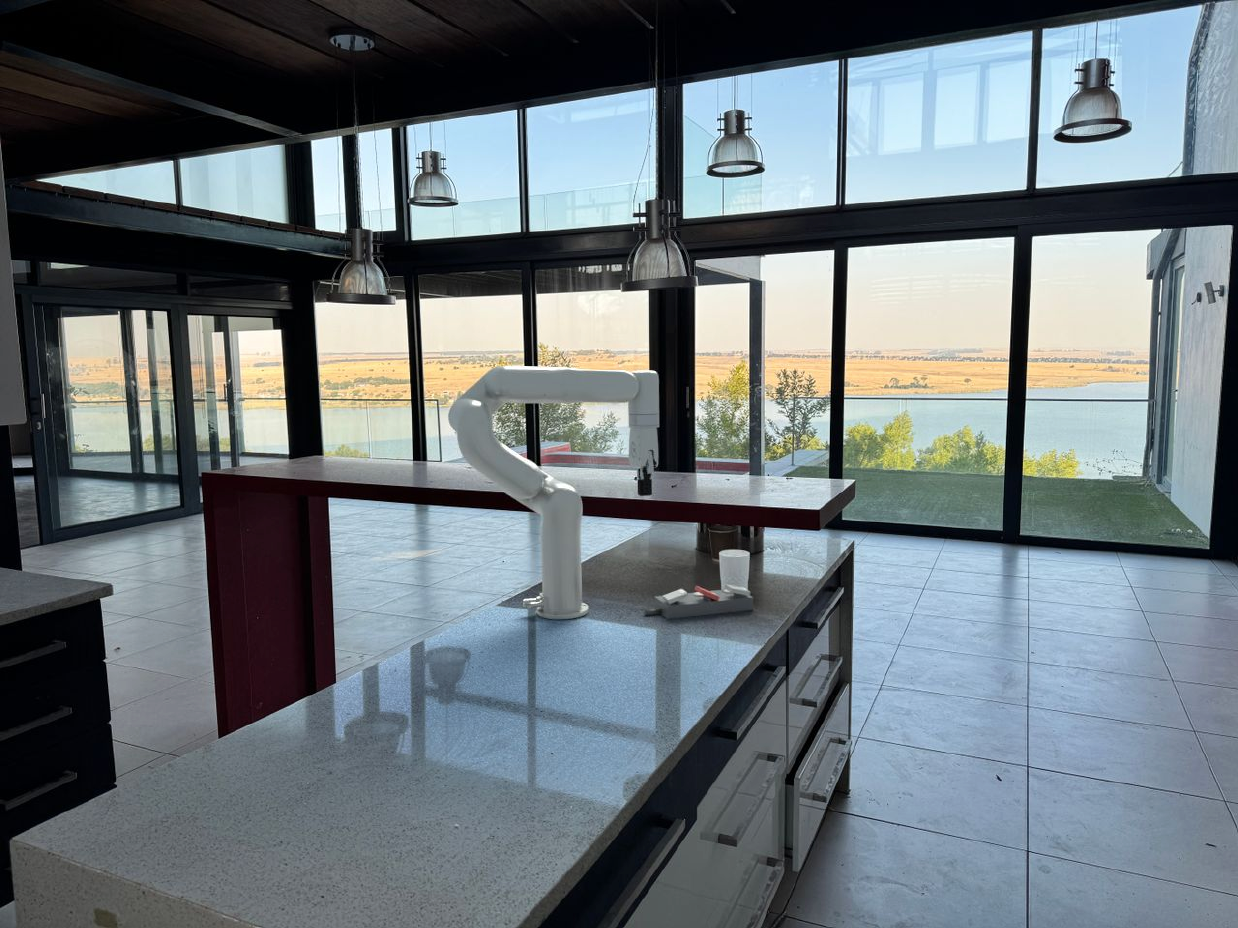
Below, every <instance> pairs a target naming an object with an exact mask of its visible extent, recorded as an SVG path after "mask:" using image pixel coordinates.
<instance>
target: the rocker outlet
mask: <svg viewBox="0 0 1238 928" xmlns="http://www.w3.org/2000/svg"><path fill="white" fill-rule="evenodd" d="M725 589H726V590H728V591H730V592H732V593H737V594H743V595H748V596H751V591H750V590H747V589H745V588H743V587H737V586H732V585H726V584H725Z"/></svg>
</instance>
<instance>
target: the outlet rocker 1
mask: <svg viewBox="0 0 1238 928" xmlns="http://www.w3.org/2000/svg"><path fill="white" fill-rule="evenodd" d="M688 593H689V592H687V591H686V590H684V589H683V588H679V589H677V590H674V591H671V592H669V593H666V594H663V595H662V596H663V599H664V600H665V601H666V602H667V603H669V604H671V603H674V602H676V601H679V600H681V599H684V598H687V597H689V596H688Z"/></svg>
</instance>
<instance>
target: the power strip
mask: <svg viewBox="0 0 1238 928" xmlns="http://www.w3.org/2000/svg"><path fill="white" fill-rule="evenodd" d="M709 591H710V592H713V593H715V594H716V595H718V596H719V599H718V601H717V600H715V599H712V598H710V597H708V596H705V595H703V594H701V593H699V592H698V591H696V592H687V593H688V596H689V597H687V598H684V599H681V600H679V601H676V602H674V603H671V604H669V603H667V602H666V601H665V600H664V599H663V595H656V596H654V609H645V610H644V612H643V613H644V616H652V615H662V617H665V619H667V620H670V619H678V618H689V617H690V618H691V617H696V616H697V617H699V616H706V615H707V616H708V615H714V614H716V615H717V614H724V613H733V612H743V611H744V612H745V611H751V610H752V611H753V610H754V597H753V596H751V595H750V596H748V595H743V594H737V593H732V592H730V591H728V590H726V589H725V590H722V589H718V590H717V589H716V590H709Z"/></svg>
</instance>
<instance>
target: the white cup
mask: <svg viewBox="0 0 1238 928" xmlns="http://www.w3.org/2000/svg"><path fill="white" fill-rule="evenodd" d="M750 554H751V553H750V552H749V551H747V550H742V549H724V550H721V551H719V552H718V556H719V575H720V583H721V584H720V585H721V587H720V588H721V589H720V590H725V584H726V585H732V586H737V587H743V588H745V589H747V590H748V589H749V588H748V587H749V583H748V582H749V576H750V575H749V574H750V573H749V572H750ZM748 591H749V590H748Z"/></svg>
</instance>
